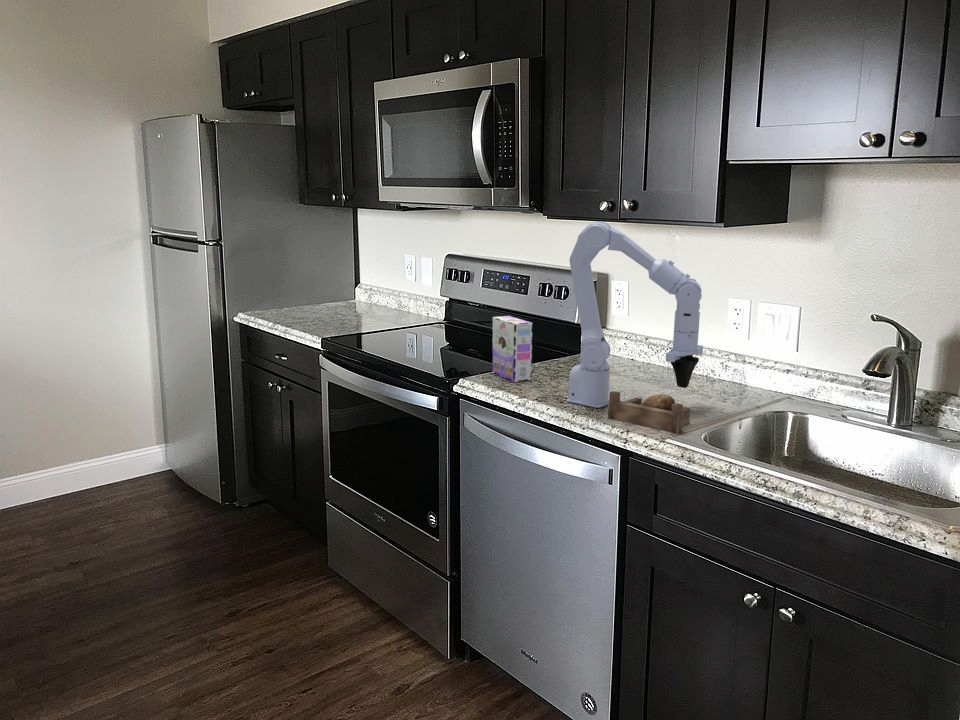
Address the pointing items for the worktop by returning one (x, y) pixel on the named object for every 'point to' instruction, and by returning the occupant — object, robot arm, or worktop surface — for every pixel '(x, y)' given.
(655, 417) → the wooden crate
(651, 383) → the worktop surface
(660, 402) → the mushroom
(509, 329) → the candy box
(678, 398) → the worktop surface
